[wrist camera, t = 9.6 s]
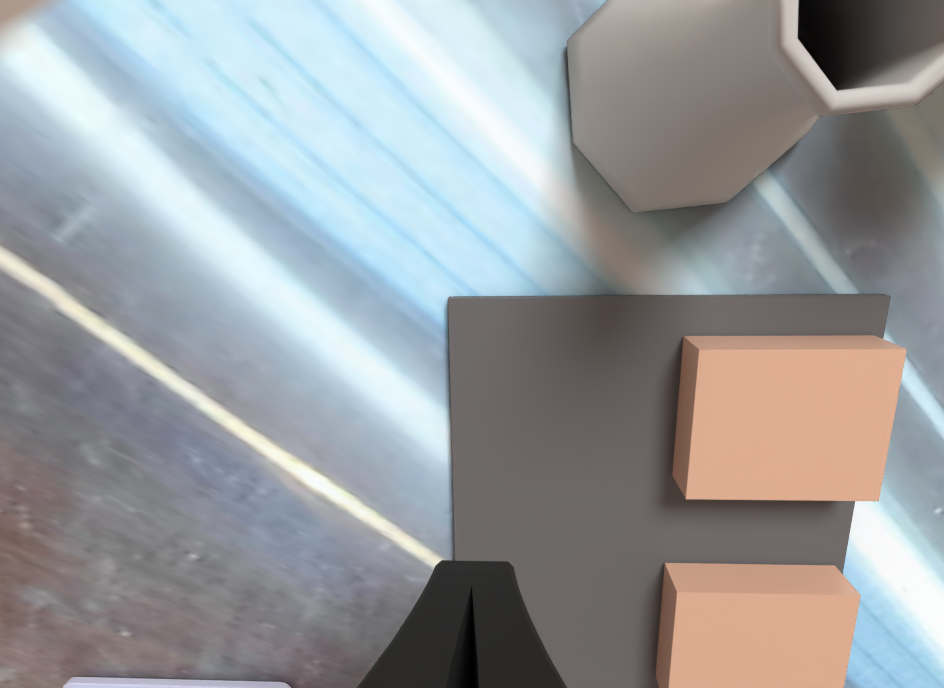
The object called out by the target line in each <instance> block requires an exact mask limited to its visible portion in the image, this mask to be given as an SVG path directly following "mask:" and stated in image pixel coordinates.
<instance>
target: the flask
mask: <svg viewBox="0 0 944 688" xmlns="http://www.w3.org/2000/svg"><path fill="white" fill-rule="evenodd" d="M567 54H568V69H569V85H570V101H571V117H572V133H573V143H574V144H575V146H576V147H577V148H578V149H579V150H580V151H581V153H582V154H583V155H584V156H585V157H586V158H587V160H588V161H589V162H590V163H591V164H592V165H593V167H594V168H595V169H596V170H597V171H598V172H599V174H600V175H601V176H602V177H603V178H604V179H605V181H606V182H607V183H608V184H609V185H610V186H611V188H612V189H613V190H614V191H615V192H616V193H617V195H618V196H619V197H620V198H621V199H622V200H623V202H624V203H625V204H626V205H627V206H628V207H629V209H630V210H631V211H632V212H633V213H635V212H645V211H654V210H663V209H672V208H681V207H691V206H700V205H709V204H718V203H727V202H728V201H729V200H730V199H731V198H733V197H734V196H735V195H736V194H737V193H738V192H740V191H741V190H742V189H743V188H744V187H745V186H747V185H748V184H749V183H750V182H751V181H752V180H754V179H755V178H756V177H757V176H758V175H759V174H761V173H762V172H763V171H764V170H765V169H767V168H768V167H769V166H770V165H771V164H772V163H774V162H775V161H776V160H777V159H778V158H779V157H781V156H782V155H783V154H784V153H785V152H786V151H788V150H789V149H790V148H791V147H792V146H793V145H795V144H796V143H797V142H798V141H799V140H800V139H802V138H803V137H804V136H805V135H806V134H807V133H808V132H809V131H810V129H811V128H812V126H813V125H814V123H815V122H816V121H817V119H818V118H819V116H820V117H823V116H832V115H840V114H849V113H857V112H866V111H874V110H883V109H891V108H900V107H908V106H912V105H916V104H918V103H919V102H921V101H922V100H923V99H924V98H925V97H927V96H928V95H929V94H930V93H931V92H933V91H934V90H935V89H936V88H937V87H939V86H940V85H941V84H942V83H943V82H944V0H607V1H606V2H605V3H604V4H603V5H602V6H601V7H600V8H599V9H598V10H597V11H596V12H595V13H594V14H593V15H592V16H591V17H590V18H589V19H588V20H587V21H586V22H585V23H584V24H583V25H582V26H581V27H580V28H579V29H578V30H577V31H576V32H575V33H574V34H573V35H572V36H571V37H570V38H569V39H568V40H567Z"/></svg>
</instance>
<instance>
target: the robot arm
mask: <svg viewBox="0 0 944 688" xmlns="http://www.w3.org/2000/svg"><path fill="white" fill-rule="evenodd" d="M63 688H291V687H290V686H289V685H288V684H286V683H283V682H262V681H222V680H182V679H142V678H102V677H72V678H71V679H69V680H68V681H67V683H66V684H65V685H64V686H63ZM357 688H567V687H566V685H565V683H564V681H563V680H562V678H561V676H560V674H559V673H558V671H557V669H556V668H555V666H554V664H553V662H552V660H551V658H550V656H549V655H548V653H547V651H546V649H545V647H544V645H543V643H542V641H541V639H540V637H539V635H538V633H537V630H536V628H535V626H534V624H533V622H532V620H531V618H530V615H529V613H528V611H527V608H526V606H525V603H524V601H523V598H522V595H521V592H520V590H519V586H518V583H517V580H516V576H515V571H514V567H513V566H512V565H511V564H510V563H509V562H508V561H445V560H442V561H441V562H439V563H438V564H437V565H436V566H435V569H434V571H433V573H432V575H431V577H430V579H429V581H428V583H427V585H426V587H425V589H424V591H423V592H422V594H421V596H420V598H419V599H418V601H417V603H416V604H415V606H414V608H413V609H412V611H411V613H410V614H409V616H408V617H407V619H406V620H405V622H404V623H403V625H402V626H401V628H400V630H399V631H398V633H397V634H396V636H395V637H394V639H393V640H392V642H391V643H390V644H389V646H388V647H387V649H386V650H385V651H384V653H383V654H382V655H381V657H380V658H379V659H378V661H377V662H376V663H375V665H374V666H373V667H372V669H371V670H370V671H369V673H368V674H367V675H366V677H365V678H364V679H363V680H362V682H361V683H360V684H359V685H358V687H357Z"/></svg>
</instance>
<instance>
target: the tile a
mask: <svg viewBox="0 0 944 688" xmlns="http://www.w3.org/2000/svg"><path fill="white" fill-rule="evenodd" d="M860 596H861V595H860V594H859V593H858V592H857V591H856V589H855V588H854V587H853V586H852V585H851V584H850V582H849V581H848V580H847V579H846V578H845V577H844V575H843V574H842V573H841V572H840V571H839V570H838V568H837V567H836V566H835V565H772V564H705V563H665V565H664V578H663V590H662V602H661V615H660V627H659V639H658V652H657V664H656V679H657V682H658V685H659V688H844V683H845V678H846V672H847V667H848V661H849V656H850V651H851V645H852V640H853V634H854V629H855V623H856V618H857V613H858V607H859V602H860Z"/></svg>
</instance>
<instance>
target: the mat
mask: <svg viewBox="0 0 944 688" xmlns="http://www.w3.org/2000/svg"><path fill="white" fill-rule="evenodd" d="M889 302H890V296H888V295H885V294H777V295H618V296H458V297H449V298H448V317H449V355H450V393H451V431H452V469H453V507H454V544H455V561H508V562H509V563H510V564H511V565H512V566H513V567H514V571H515V576H516V580H517V583H518V586H519V590H520V592H521V595H522V598H523V601H524V603H525V606H526V608H527V611H528V613H529V615H530V618H531V620H532V622H533V624H534V626H535V628H536V630H537V633H538V635H539V637H540V639H541V641H542V643H543V645H544V647H545V649H546V651H547V653H548V655H549V656H550V658H551V660H552V662H553V664H554V666H555V668H556V669H557V671H558V673H559V674H560V676H561V678H562V680H563V681H564V683H565V685H566V687H567V688H659V685H658V682H657V679H656V664H657V652H658V639H659V627H660V615H661V602H662V590H663V578H664V565H665V563H705V564H772V565H835V566H836V567H837V568H838V570H839V571H840V572H841V573H842V574H843V568H844V562H845V556H846V550H847V545H848V539H849V533H850V527H851V522H852V516H853V510H854V504H855V501H812V500H711V499H685V497H684V495H683V493H682V492H681V490H680V488H679V486H678V485H677V483H676V481H675V479H674V478H673V476H672V472H673V460H674V448H675V435H676V423H677V411H678V398H679V386H680V374H681V361H682V349H683V337H684V336H840V335H874V336H877V337H879V338H882V339H883V337H884V331H885V325H886V319H887V314H888V308H889Z"/></svg>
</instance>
